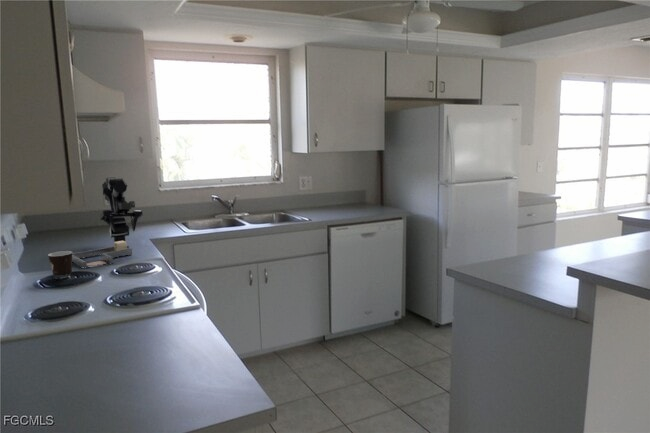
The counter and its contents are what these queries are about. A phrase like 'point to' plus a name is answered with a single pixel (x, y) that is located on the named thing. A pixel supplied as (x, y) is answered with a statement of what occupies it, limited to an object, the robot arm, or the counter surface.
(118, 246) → the maple block
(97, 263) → the pad
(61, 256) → the coffee mug
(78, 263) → the channel
